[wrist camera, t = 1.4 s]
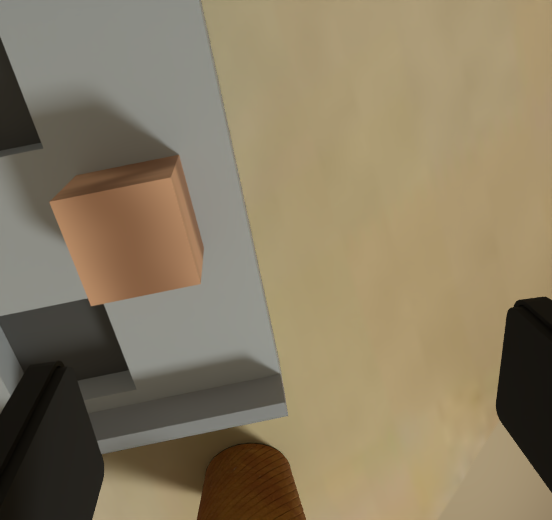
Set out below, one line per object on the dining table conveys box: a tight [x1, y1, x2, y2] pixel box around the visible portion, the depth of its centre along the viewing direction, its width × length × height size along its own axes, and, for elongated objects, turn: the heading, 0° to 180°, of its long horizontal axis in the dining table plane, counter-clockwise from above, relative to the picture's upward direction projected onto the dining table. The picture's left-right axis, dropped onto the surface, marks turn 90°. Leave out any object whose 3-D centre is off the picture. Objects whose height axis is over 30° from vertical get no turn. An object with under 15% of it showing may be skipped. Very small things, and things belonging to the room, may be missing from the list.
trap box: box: [0, 0, 288, 454], centre depth 25 cm, size 24×25×5 cm
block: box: [49, 155, 204, 306], centre depth 23 cm, size 5×5×4 cm
